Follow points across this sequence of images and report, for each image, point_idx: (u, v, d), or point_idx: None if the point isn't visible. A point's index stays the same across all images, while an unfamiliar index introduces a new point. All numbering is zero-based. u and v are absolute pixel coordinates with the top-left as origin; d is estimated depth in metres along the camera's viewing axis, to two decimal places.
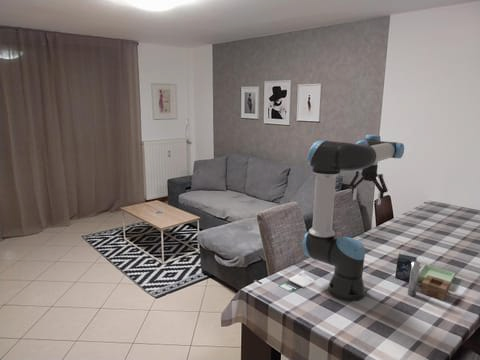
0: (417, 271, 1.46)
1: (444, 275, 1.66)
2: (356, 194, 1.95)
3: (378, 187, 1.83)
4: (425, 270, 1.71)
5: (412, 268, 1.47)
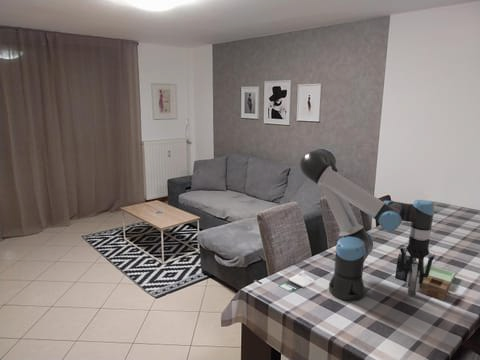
0: (417, 271, 1.46)
1: (444, 275, 1.66)
2: None
3: (420, 269, 1.45)
4: (425, 270, 1.71)
5: (412, 268, 1.47)
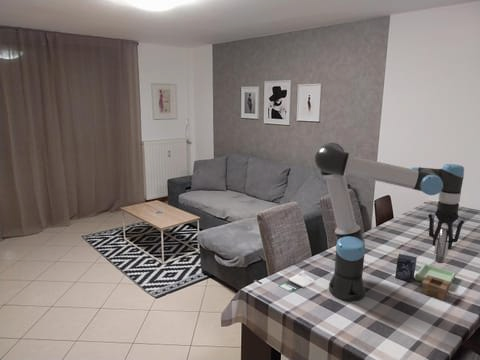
0: (446, 237, 1.45)
1: (444, 275, 1.66)
2: None
3: (450, 234, 1.44)
4: (425, 270, 1.71)
5: (441, 234, 1.46)
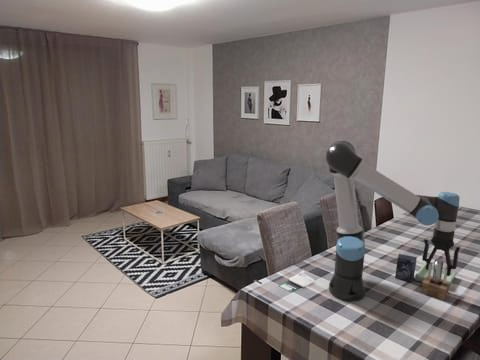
0: (440, 269, 1.48)
1: None
2: None
3: (448, 261, 1.46)
4: (425, 270, 1.71)
5: (435, 266, 1.49)
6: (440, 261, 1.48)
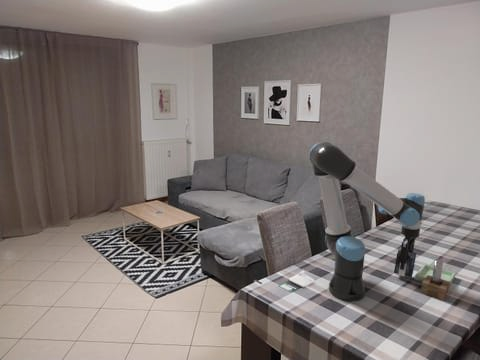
0: (440, 269, 1.48)
1: (444, 275, 1.66)
2: None
3: None
4: (425, 270, 1.71)
5: (435, 266, 1.49)
6: (440, 261, 1.48)
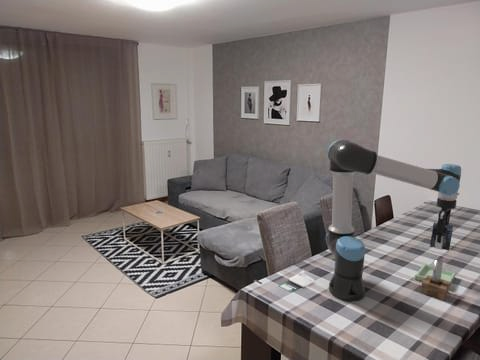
0: (440, 269, 1.48)
1: (444, 275, 1.66)
2: None
3: None
4: (425, 270, 1.71)
5: (435, 266, 1.49)
6: (439, 261, 1.49)
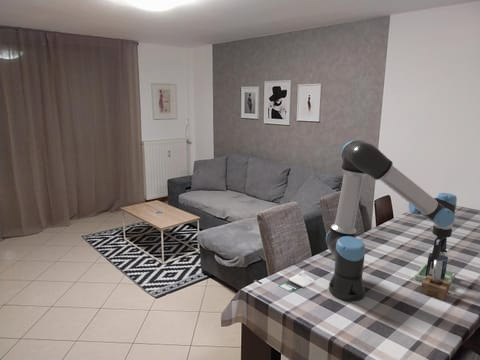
0: (440, 269, 1.48)
1: None
2: None
3: None
4: (425, 270, 1.71)
5: (435, 266, 1.49)
6: (439, 261, 1.48)
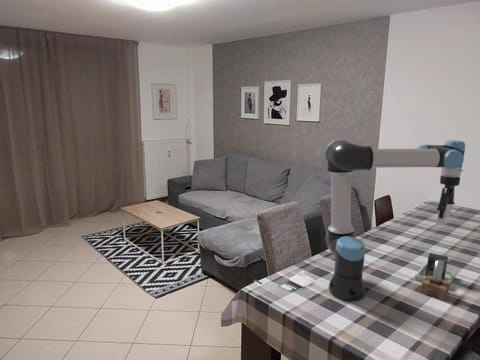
0: (441, 269, 1.48)
1: None
2: (450, 212, 1.62)
3: None
4: (425, 270, 1.71)
5: (436, 267, 1.48)
6: (441, 261, 1.48)
